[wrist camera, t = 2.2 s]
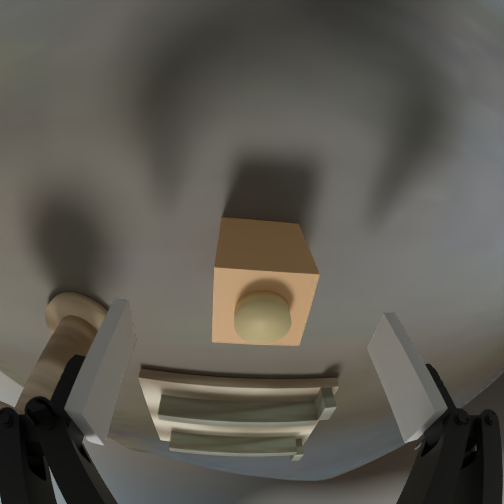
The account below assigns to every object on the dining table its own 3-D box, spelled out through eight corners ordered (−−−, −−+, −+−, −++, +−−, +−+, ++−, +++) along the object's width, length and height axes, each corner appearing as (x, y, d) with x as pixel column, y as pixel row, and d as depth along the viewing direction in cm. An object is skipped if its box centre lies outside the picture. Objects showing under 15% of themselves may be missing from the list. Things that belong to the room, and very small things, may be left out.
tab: (221, 217, 19) (212, 279, 13) (298, 223, 19) (324, 286, 13) (218, 281, 21) (211, 354, 15) (286, 285, 21) (301, 358, 15)
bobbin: (39, 286, 21) (-32, 396, 10) (113, 297, 21) (53, 439, 10) (63, 347, 25) (19, 448, 13) (129, 360, 25) (97, 479, 14)
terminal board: (140, 368, 26) (132, 397, 23) (336, 377, 28) (344, 405, 24) (161, 433, 34) (158, 454, 30) (301, 438, 35) (304, 460, 32)
